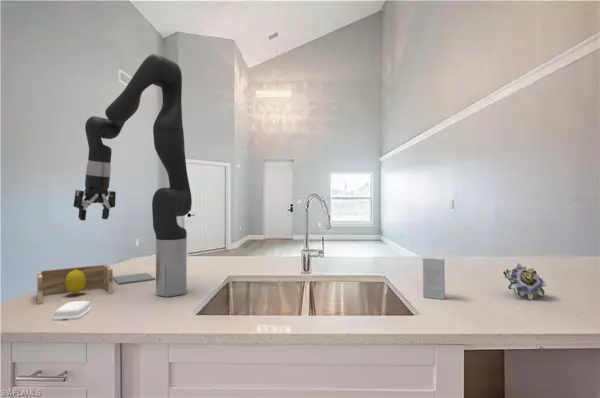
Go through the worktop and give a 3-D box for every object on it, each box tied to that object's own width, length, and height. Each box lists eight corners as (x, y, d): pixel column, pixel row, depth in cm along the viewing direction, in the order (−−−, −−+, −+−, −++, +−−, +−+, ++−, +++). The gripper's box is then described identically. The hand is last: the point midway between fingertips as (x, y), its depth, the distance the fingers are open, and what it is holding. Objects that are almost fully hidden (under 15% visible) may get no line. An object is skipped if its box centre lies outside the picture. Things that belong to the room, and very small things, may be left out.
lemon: (89, 292, 114) (89, 267, 114) (77, 297, 109) (77, 271, 109) (73, 292, 115) (73, 267, 115) (60, 297, 109) (60, 270, 109)
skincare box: (444, 296, 110) (445, 257, 110) (444, 299, 106) (444, 259, 106) (424, 294, 113) (424, 255, 113) (422, 297, 109) (422, 257, 109)
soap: (80, 320, 89) (80, 309, 89) (49, 322, 88) (49, 310, 88) (94, 309, 98) (94, 299, 98) (66, 311, 97) (66, 300, 97)
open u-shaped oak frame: (112, 293, 114) (112, 269, 114) (38, 304, 102) (38, 277, 102) (106, 286, 122) (106, 264, 122) (37, 295, 111) (37, 271, 111)
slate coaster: (155, 279, 133) (155, 278, 133) (119, 284, 125) (119, 282, 125) (146, 274, 142) (146, 272, 142) (112, 278, 135) (112, 276, 135)
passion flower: (529, 317, 107) (512, 287, 104) (505, 300, 118) (489, 272, 115) (561, 296, 107) (545, 265, 104) (534, 281, 117) (518, 252, 115)
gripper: (86, 174, 120) (81, 222, 121) (122, 176, 133) (118, 220, 134) (71, 172, 123) (67, 218, 124) (108, 174, 136) (104, 216, 137)
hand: (93, 219), depth 129 cm, fingers open, 8 cm apart
